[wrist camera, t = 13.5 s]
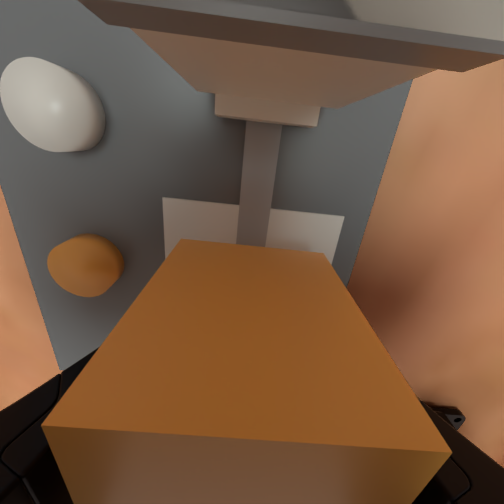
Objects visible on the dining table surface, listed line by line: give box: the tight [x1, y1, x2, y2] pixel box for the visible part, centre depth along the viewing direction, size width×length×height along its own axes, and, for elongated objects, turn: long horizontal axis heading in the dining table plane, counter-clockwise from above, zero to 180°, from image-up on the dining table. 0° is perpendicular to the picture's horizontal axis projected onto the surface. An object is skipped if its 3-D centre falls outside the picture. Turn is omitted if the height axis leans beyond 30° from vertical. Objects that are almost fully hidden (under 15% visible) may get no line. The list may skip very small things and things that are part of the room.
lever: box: [78, 0, 504, 128], centre depth 4 cm, size 3×4×6 cm
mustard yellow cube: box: [41, 239, 452, 504], centre depth 7 cm, size 5×5×6 cm
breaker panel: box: [0, 0, 413, 370], centre depth 9 cm, size 21×14×2 cm, turn 174°
